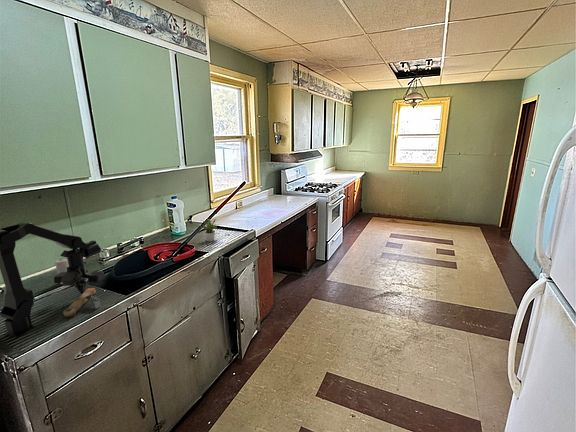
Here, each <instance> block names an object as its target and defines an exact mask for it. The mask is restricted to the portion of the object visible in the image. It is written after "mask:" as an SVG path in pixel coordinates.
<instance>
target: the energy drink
mask: <svg viewBox="0 0 576 432" xmlns="http://www.w3.org/2000/svg"><path fill="white" fill-rule="evenodd" d="M54 262H55V263H54V265H55V270H56V273H57V274H56V275H58V274H59V273H61V272H67V267H68V266H69V265H68V261H67V257H63V258H62V257H61V258H58V259H56V260H55V261H54ZM59 284H60V285H63V283H59Z"/></svg>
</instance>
